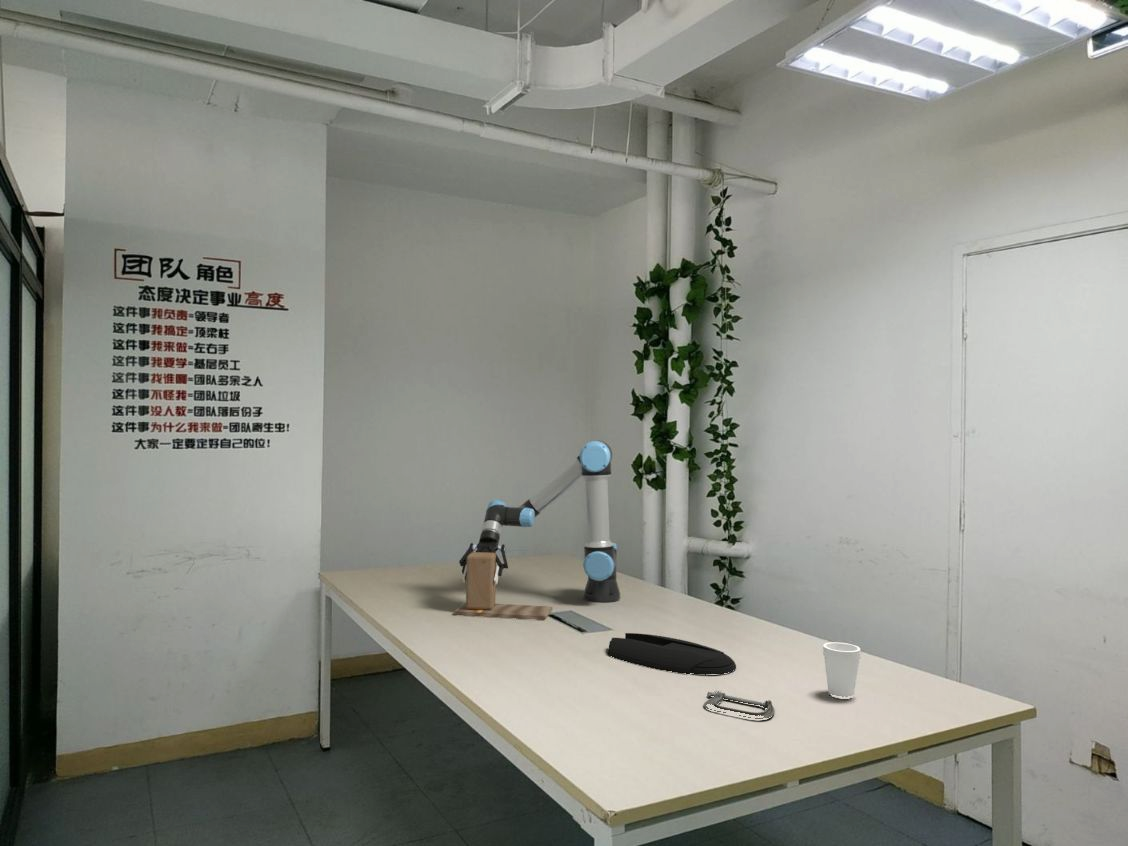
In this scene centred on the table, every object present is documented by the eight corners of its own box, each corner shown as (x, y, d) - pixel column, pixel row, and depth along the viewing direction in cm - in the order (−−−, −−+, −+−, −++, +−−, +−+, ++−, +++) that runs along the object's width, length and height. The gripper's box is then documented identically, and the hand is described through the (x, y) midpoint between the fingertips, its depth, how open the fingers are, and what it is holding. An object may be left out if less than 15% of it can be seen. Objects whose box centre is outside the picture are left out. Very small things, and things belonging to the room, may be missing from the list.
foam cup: (830, 687, 224) (831, 640, 224) (864, 695, 218) (865, 646, 218) (817, 696, 216) (817, 647, 216) (851, 704, 210) (852, 654, 210)
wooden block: (492, 610, 300) (493, 556, 301) (465, 609, 301) (466, 555, 301) (495, 604, 310) (496, 552, 311) (469, 604, 311) (470, 551, 311)
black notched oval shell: (711, 684, 226) (711, 666, 226) (594, 656, 251) (595, 640, 251) (751, 664, 245) (751, 648, 245) (639, 640, 271) (639, 625, 271)
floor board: (552, 610, 309) (552, 606, 309) (544, 620, 294) (544, 615, 294) (466, 605, 315) (466, 601, 315) (454, 615, 299) (454, 610, 299)
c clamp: (687, 708, 207) (687, 697, 207) (719, 691, 220) (719, 681, 220) (761, 727, 194) (762, 716, 194) (790, 708, 208) (790, 697, 208)
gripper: (521, 542, 319) (512, 589, 304) (462, 539, 323) (450, 585, 307) (518, 530, 314) (509, 577, 298) (459, 527, 317) (446, 574, 302)
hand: (479, 581), depth 303 cm, fingers open, 11 cm apart
